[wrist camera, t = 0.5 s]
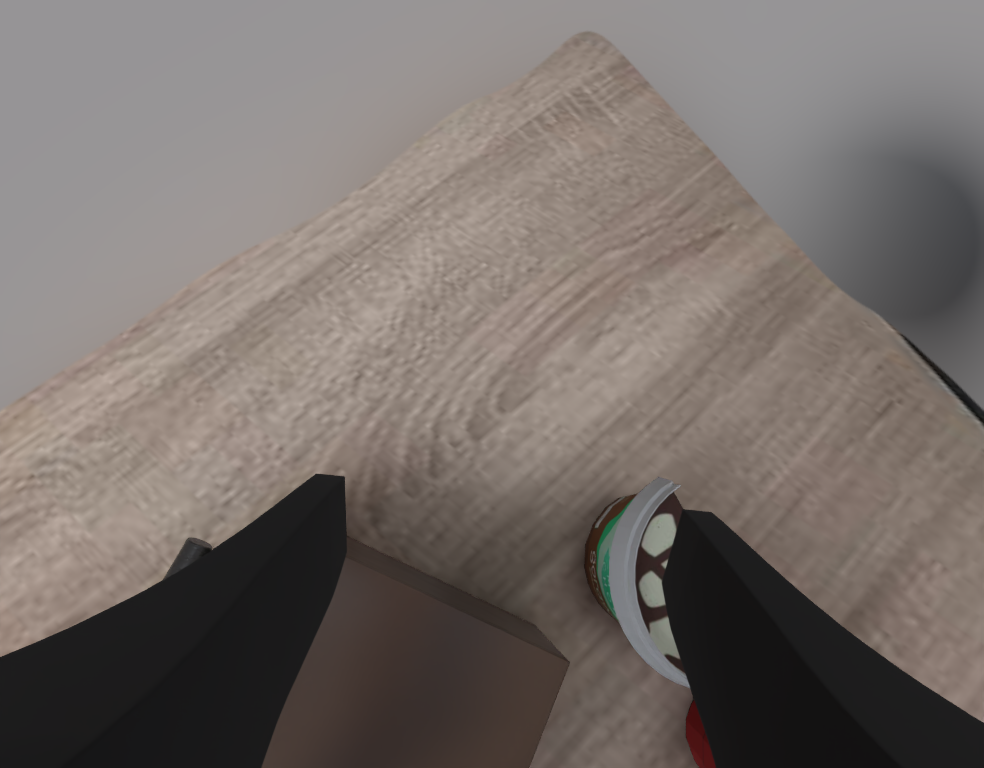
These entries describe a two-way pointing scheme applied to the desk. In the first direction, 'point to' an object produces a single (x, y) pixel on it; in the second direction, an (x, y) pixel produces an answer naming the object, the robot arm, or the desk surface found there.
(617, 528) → the food container
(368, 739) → the cabinet
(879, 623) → the desk surface
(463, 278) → the desk surface
